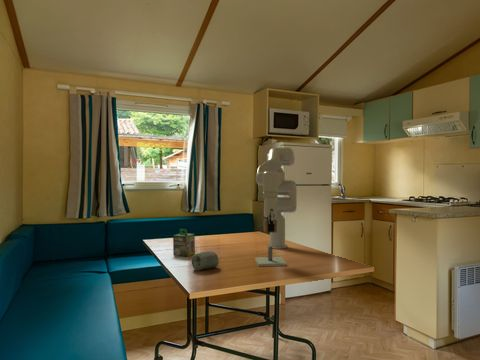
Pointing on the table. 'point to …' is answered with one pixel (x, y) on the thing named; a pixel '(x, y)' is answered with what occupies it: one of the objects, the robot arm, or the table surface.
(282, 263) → the post board
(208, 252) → the grey green cylinder
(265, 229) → the collar
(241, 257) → the table surface
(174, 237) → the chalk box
